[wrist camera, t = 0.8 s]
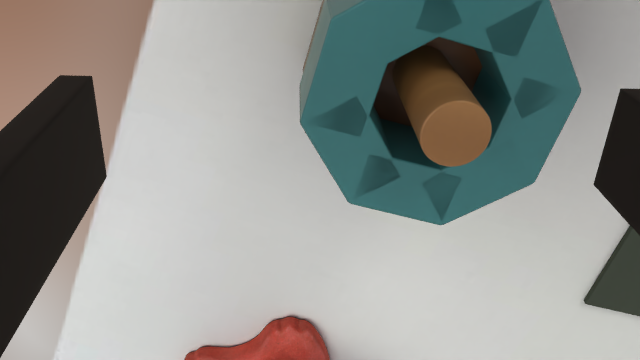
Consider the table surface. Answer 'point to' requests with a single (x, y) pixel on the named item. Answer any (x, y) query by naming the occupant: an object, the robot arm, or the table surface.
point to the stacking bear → (272, 344)
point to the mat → (620, 278)
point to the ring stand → (436, 100)
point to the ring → (400, 140)
